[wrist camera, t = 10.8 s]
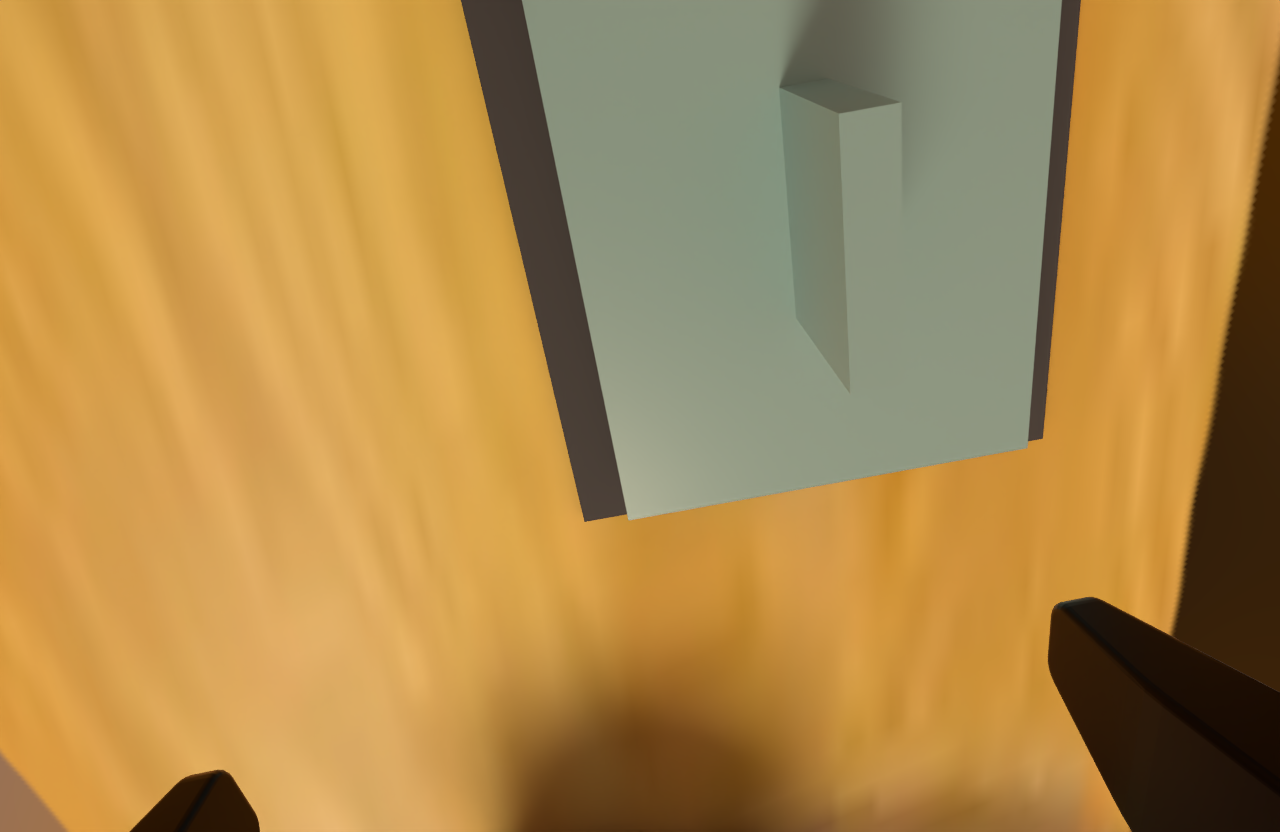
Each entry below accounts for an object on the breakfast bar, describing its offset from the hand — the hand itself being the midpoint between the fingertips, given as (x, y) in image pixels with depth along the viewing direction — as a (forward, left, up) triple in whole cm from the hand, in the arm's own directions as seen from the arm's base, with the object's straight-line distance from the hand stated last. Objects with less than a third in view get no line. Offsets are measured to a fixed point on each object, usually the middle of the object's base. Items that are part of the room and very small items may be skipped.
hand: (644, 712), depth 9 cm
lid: (+3, +5, -13) cm, 14 cm away
